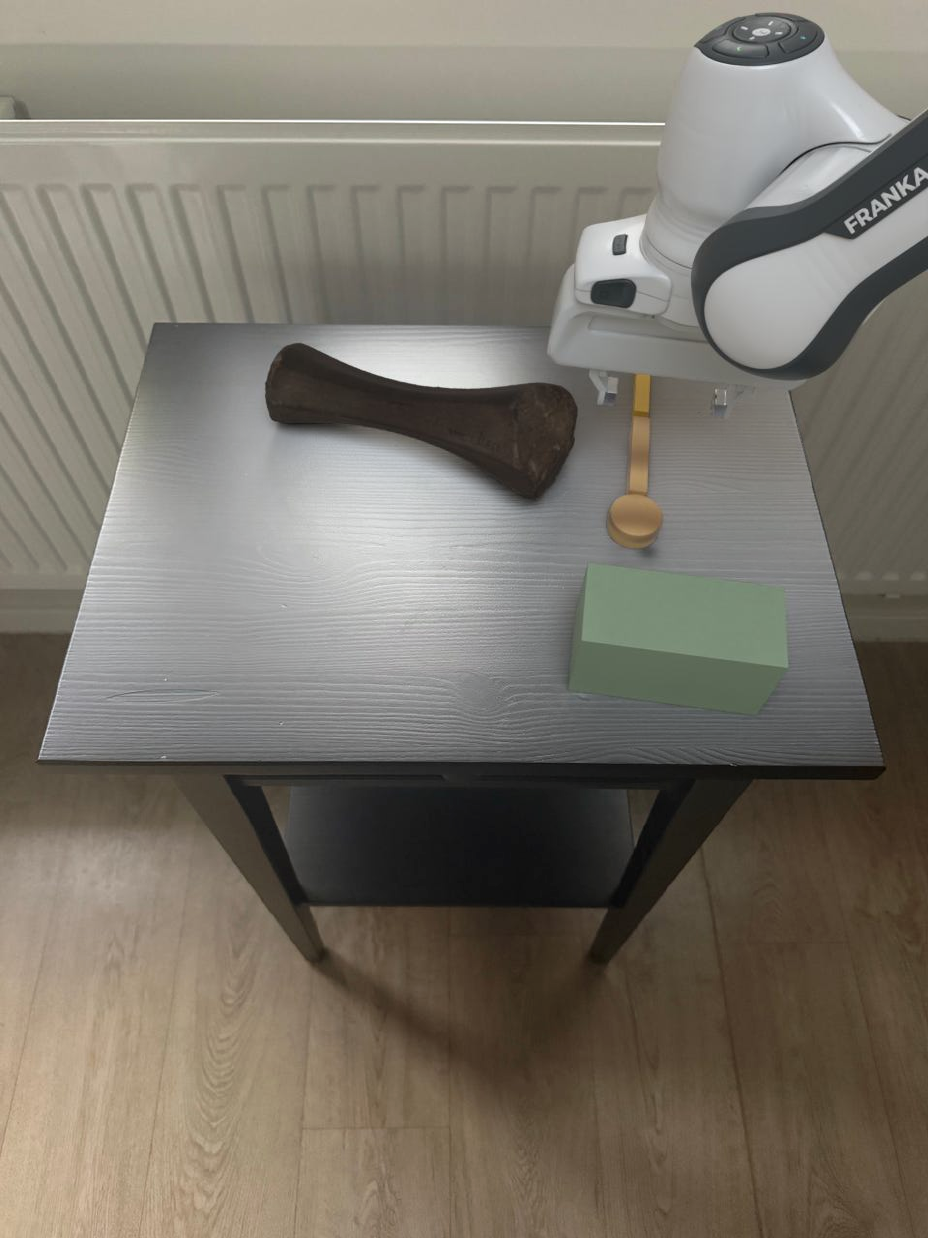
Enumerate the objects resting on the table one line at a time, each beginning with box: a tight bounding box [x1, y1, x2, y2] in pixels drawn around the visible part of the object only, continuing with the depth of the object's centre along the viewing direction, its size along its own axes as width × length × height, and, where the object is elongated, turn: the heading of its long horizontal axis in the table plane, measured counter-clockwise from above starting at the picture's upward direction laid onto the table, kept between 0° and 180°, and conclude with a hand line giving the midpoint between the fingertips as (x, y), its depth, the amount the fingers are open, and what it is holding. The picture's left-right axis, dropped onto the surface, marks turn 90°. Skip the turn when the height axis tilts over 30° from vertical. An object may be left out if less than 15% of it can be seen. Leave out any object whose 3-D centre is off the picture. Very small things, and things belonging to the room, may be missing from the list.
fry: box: [631, 373, 652, 420], centre depth 92 cm, size 1×7×1 cm, turn 172°
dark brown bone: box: [264, 342, 579, 501], centre depth 85 cm, size 11×10×28 cm
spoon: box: [606, 416, 663, 550], centre depth 85 cm, size 14×5×2 cm, turn 172°
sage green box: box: [567, 562, 790, 716], centre depth 73 cm, size 15×7×8 cm, turn 82°
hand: (662, 406), depth 79 cm, fingers open, 8 cm apart
